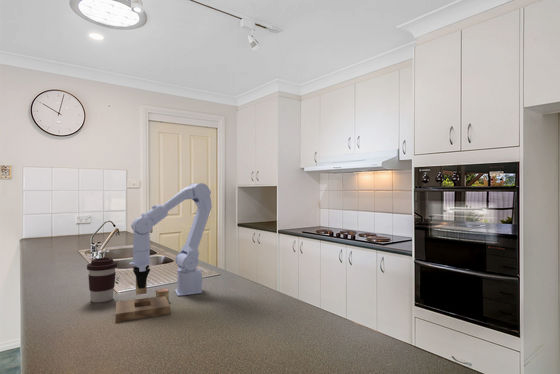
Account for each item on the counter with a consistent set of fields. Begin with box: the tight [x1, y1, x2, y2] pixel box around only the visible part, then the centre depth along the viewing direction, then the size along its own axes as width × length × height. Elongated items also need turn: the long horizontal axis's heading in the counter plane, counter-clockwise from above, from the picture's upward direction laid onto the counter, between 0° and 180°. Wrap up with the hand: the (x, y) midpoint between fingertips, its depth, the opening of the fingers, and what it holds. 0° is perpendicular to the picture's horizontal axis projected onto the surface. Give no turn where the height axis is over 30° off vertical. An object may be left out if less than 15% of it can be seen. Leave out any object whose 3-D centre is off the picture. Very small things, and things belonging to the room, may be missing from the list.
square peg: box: [135, 277, 148, 296], centre depth 120 cm, size 4×4×7 cm
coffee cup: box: [86, 257, 118, 304], centre depth 121 cm, size 10×10×15 cm
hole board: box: [115, 296, 171, 323], centre depth 109 cm, size 16×12×2 cm
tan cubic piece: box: [155, 287, 170, 303], centre depth 120 cm, size 4×4×4 cm
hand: (141, 286), depth 120 cm, fingers closed on square peg, 3 cm apart
